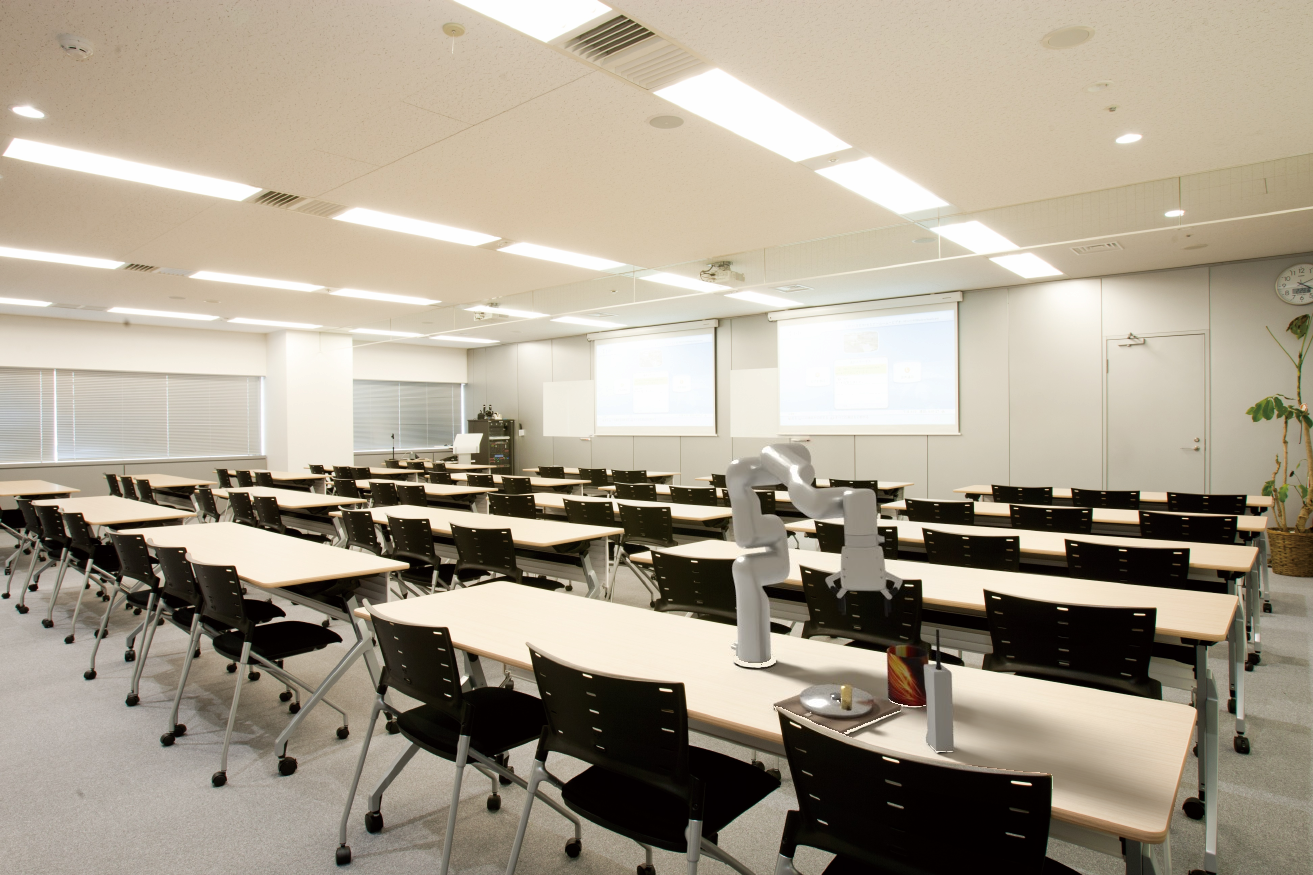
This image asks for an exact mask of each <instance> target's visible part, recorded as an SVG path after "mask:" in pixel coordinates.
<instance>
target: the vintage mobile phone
mask: <svg viewBox="0 0 1313 875" xmlns="http://www.w3.org/2000/svg"><path fill="white" fill-rule="evenodd" d="M935 641H936V643H935V644H936V646H935V647H936V651H935V655H936V656H935V662H936V663H932V664H931V663H929V664H924V677H925V689H926V696H927V706H926V721H927V722H926V725H927V728H926V729H927V730H926V735H925V742H926V744H927V743H928V744H930V745H931V746H932V747H933V748H934V749H935V750H936V751H954V752H955V750H954V749H955V744H954V742H955V741H954V711H953V709H954V706H953V705H954V704H953V679H952V678H953V676H952V675H953V673H952V671H951V670H949V669H948V668H946V666H944V665H943V664H941V662H942V661H941V649H940V644H941V643H940V629H938V628H937V629H935ZM928 744H927V745H928Z"/></svg>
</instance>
